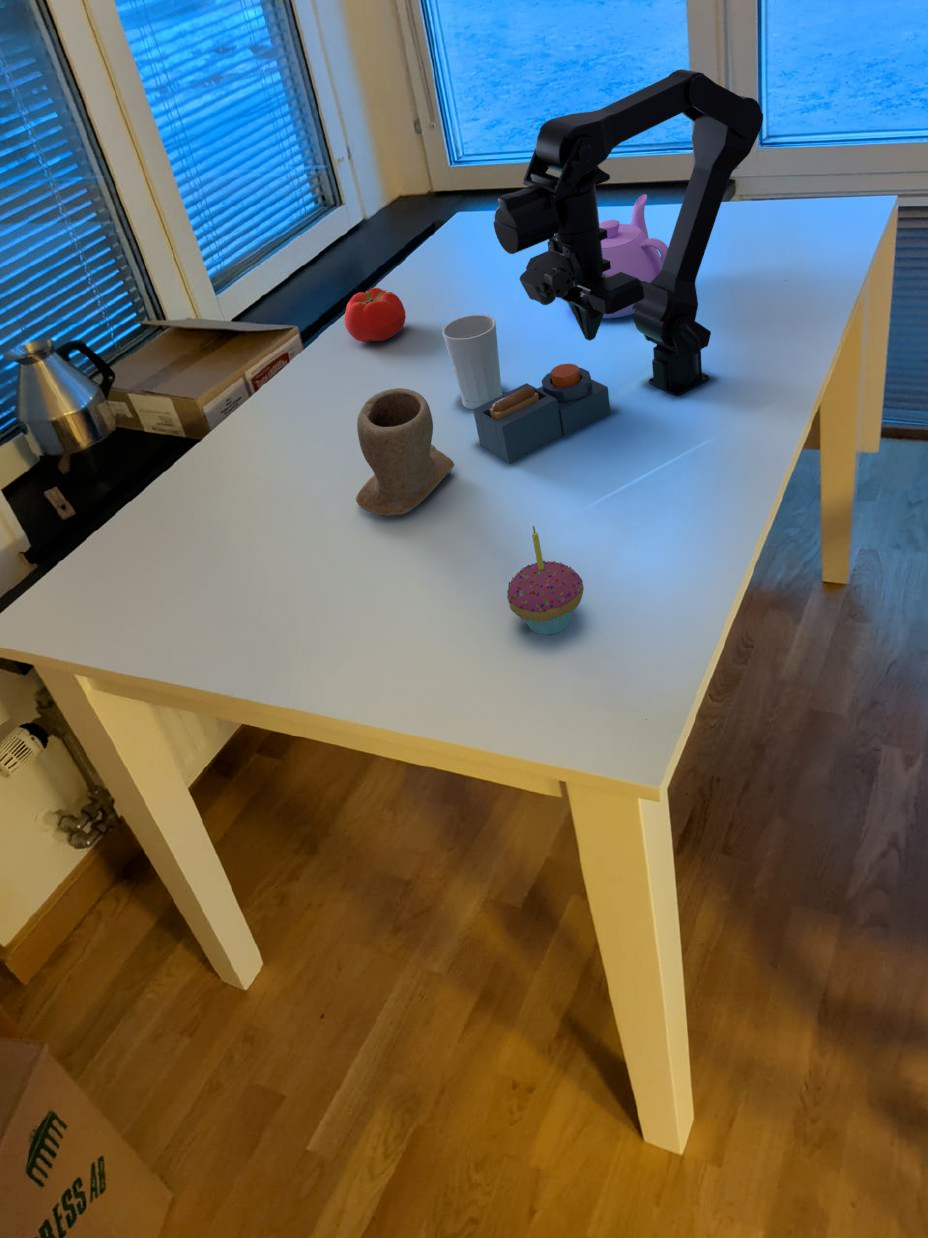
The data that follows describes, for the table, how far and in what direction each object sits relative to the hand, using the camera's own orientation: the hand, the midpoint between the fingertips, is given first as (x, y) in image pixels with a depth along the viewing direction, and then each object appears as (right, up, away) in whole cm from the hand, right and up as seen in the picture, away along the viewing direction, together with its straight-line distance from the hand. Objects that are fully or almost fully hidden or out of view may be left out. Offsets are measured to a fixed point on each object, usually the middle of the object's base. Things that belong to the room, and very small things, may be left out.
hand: (590, 338), depth 144 cm
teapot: (+10, +17, +38) cm, 43 cm away
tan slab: (-9, -12, +7) cm, 17 cm away
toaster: (-9, -13, +7) cm, 17 cm away
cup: (-14, -4, +19) cm, 24 cm away
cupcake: (-7, -39, -24) cm, 46 cm away
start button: (-3, -4, +7) cm, 8 cm away
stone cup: (-24, -21, +3) cm, 32 cm away
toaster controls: (-2, -8, +10) cm, 13 cm away
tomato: (-32, +12, +44) cm, 56 cm away
